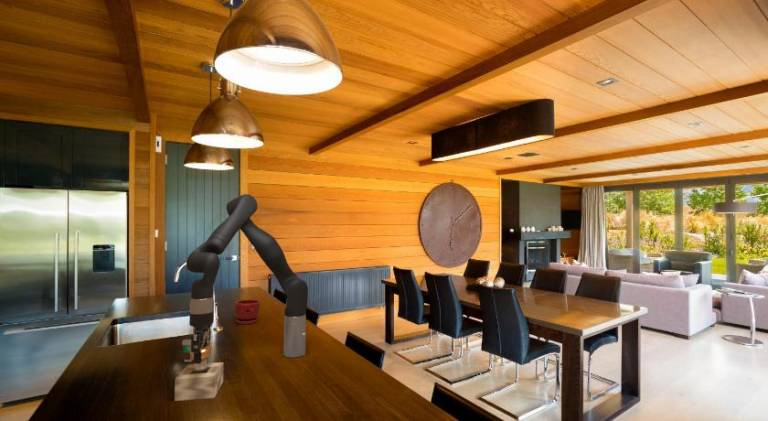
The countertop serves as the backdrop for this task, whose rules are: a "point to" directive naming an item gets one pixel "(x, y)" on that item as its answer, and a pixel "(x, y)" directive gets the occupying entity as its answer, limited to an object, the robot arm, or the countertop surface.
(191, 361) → the food container
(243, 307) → the plant pot
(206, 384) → the birch block
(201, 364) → the copper pin
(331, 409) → the countertop surface
